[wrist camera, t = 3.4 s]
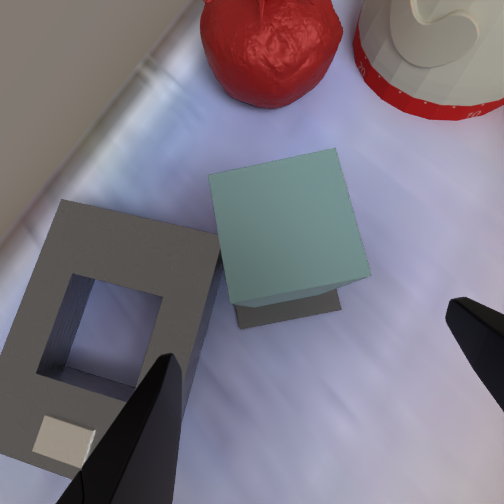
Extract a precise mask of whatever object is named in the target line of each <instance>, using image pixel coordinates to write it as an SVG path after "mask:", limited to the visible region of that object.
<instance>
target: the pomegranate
mask: <svg viewBox="0 0 504 504" xmlns="http://www.w3.org/2000/svg"><path fill="white" fill-rule="evenodd" d="M203 1H204V0H203ZM204 2H205V6H204V9H203V12H202V15H201V20H200V34H201V39H202V44H203V47H204V51H205V54H206V57H207V60H208V63H209V65H210V67H211V69H212V71H213V73H214V75H215V77H216V78H217V80H218V81H219V82H220V83H221V85H222V86H223V88H224V90H225V91H226V92H227V94H228V95H230V96H231V97H232V98H235V99H237V100H240V101H243V102H246V103H249V104H252V105H254V106H256V107H262V108H269V109H275V108H280V107H283V106H286V105H289V104H291V103H292V102H294V101H296V100H298V99H299V98H301V97H302V96H303V95H305V94H306V93H307V92H309V91H310V90H312V89H313V88H314V87H315V86H316V85H317V84H318V83H319V82H320V81H321V80H322V79H323V77H324V75H325V74H326V72H327V70H328V68H329V66H330V64H331V62H332V60H333V58H334V56H335V54H336V51H337V49H338V45H339V43H340V41H341V38H342V35H343V27H342V26H341V22H340V21H339V17H338V15H337V14H336V12H335V10H334V9H333V5H332V1H331V0H206V1H204Z"/></svg>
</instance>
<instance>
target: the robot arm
mask: <svg viewBox="0 0 504 504" xmlns="http://www.w3.org/2000/svg"><path fill="white" fill-rule="evenodd" d="M445 319H446V323H447V325H448V327H449V328H450V330H451V332H452V334H453V335H454V337H455V339H456V341H457V342H458V344H459V346H460V348H461V349H462V351H463V353H464V354H465V356H466V358H467V360H468V361H469V363H470V365H471V366H472V368H473V369H474V371H475V372H476V374H477V375H478V377H479V378H480V379H481V381H482V382H483V384H484V385H485V386H486V388H487V389H488V391H489V392H490V393H491V395H492V396H493V397H494V399H495V400H496V402H497V403H498V404H499V406H500V407H501V409H502V410H503V411H504V314H502V313H500V312H497V311H495V310H493V309H491V308H489V307H487V306H485V305H482V304H480V303H478V302H476V301H474V300H472V299H469V298H467V297H459V298H454V299H451V300H450V301H449V305H448V308H447V312H446V316H445ZM181 420H182V370H181V367H180V365H179V363H178V361H177V359H176V357H175V355H174V354H173V353H166V354H162V355H160V356H159V357H158V358H157V359H156V361H155V362H154V364H153V365H152V367H151V368H150V370H149V371H148V372H147V374H146V375H145V377H144V378H143V380H142V381H141V382H140V384H139V385H138V387H137V388H136V390H135V391H134V393H133V394H132V395H131V397H130V398H129V400H128V401H127V403H126V404H125V406H124V407H123V408H122V410H121V411H120V413H119V414H118V416H117V417H116V418H115V420H114V421H113V423H112V424H111V426H110V427H109V429H108V430H107V431H106V433H105V434H104V436H103V437H102V439H101V440H100V441H99V443H98V444H97V446H96V447H95V449H94V450H93V452H92V453H91V454H90V456H89V457H88V459H87V460H86V462H85V463H84V465H83V466H82V468H81V470H80V471H79V472H78V473H77V474H76V476H75V477H74V479H73V480H72V482H71V483H70V484H69V486H68V487H67V489H66V490H65V491H64V493H63V494H62V496H61V497H60V498H59V500H58V501H57V503H56V504H172V501H173V492H174V484H175V475H176V466H177V458H178V449H179V440H180V432H181Z"/></svg>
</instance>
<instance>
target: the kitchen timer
mask: <svg viewBox="0 0 504 504" xmlns="http://www.w3.org/2000/svg"><path fill="white" fill-rule="evenodd" d="M353 47H354V55H355V62H356V65H357V67H358V69H359V71H360V73H361V75H362V77H363V79H364V81H365V83H366V84H367V85H368V86H369V87H370V88H371V89H372V90H373V91H374V92H375V93H376V94H377V95H378V96H379V97H380V98H381V99H382V100H384V101H385V102H387V103H389V104H391V105H392V106H394V107H396V108H397V109H399V110H401V111H403V112H405V113H408V114H412V115H415V116H419V117H422V118H426V119H429V120H454V121H457V120H462V119H467V118H472V117H476V116H481V115H484V114H486V113H488V112H490V111H492V110H494V109H496V108H498V107H500V106H502V105H504V0H364V2H363V5H362V9H361V12H360V16H359V19H358V23H357V27H356V32H355V36H354V41H353Z"/></svg>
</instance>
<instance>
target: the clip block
mask: <svg viewBox="0 0 504 504" xmlns="http://www.w3.org/2000/svg"><path fill="white" fill-rule="evenodd" d="M208 178H209V184H210V190H211V196H212V201H213V207H214V213H215V219H216V225H217V231H218V236H219V242H220V248H221V254H222V260H223V265H224V271H225V277H226V283H227V289H228V295H229V300H230V304H235V305H241V306H248V307H254V308H255V307H260V306H265V305H270V304H275V303H280V302H285V301H290V300H295V299H301V298H306V297H311V296H316V295H320V294H323V293H325V292H328V291H331V290H334V289H336V288H339V287H342V286H345V285H347V284H350V283H353V282H356V281H358V280H361V279H364V278H367V277H369V276H372V275H371V272H370V268H369V265H368V261H367V258H366V254H365V251H364V247H363V243H362V240H361V236H360V233H359V229H358V226H357V222H356V219H355V215H354V211H353V208H352V204H351V201H350V197H349V194H348V190H347V187H346V183H345V180H344V176H343V172H342V169H341V165H340V162H339V158H338V155H337V151H336V148H332V149H327V150H323V151H318V152H313V153H309V154H304V155H299V156H295V157H290V158H285V159H281V160H276V161H271V162H267V163H262V164H257V165H253V166H248V167H243V168H239V169H234V170H230V171H225V172H220V173H216V174H211V175H208Z"/></svg>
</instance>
